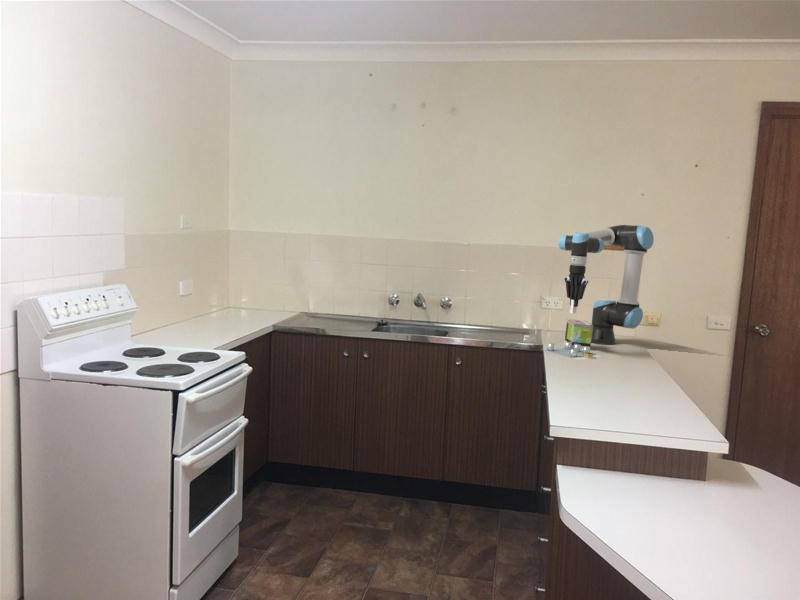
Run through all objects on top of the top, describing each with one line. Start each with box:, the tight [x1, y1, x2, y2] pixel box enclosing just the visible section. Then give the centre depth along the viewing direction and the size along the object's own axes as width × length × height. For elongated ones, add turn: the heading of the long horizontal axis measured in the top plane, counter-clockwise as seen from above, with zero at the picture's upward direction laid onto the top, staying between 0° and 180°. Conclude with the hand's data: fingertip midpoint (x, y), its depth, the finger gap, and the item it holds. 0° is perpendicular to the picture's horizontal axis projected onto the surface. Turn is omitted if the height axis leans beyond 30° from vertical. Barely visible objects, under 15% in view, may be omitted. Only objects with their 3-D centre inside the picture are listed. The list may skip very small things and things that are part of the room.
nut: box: [582, 351, 594, 359], centre depth 316 cm, size 4×5×2 cm
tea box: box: [563, 318, 593, 351], centre depth 341 cm, size 15×10×15 cm, turn 0°
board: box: [543, 347, 602, 361], centre depth 323 cm, size 18×22×1 cm
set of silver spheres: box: [546, 342, 591, 358], centre depth 324 cm, size 15×17×4 cm
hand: (573, 313), depth 325 cm, fingers closed
